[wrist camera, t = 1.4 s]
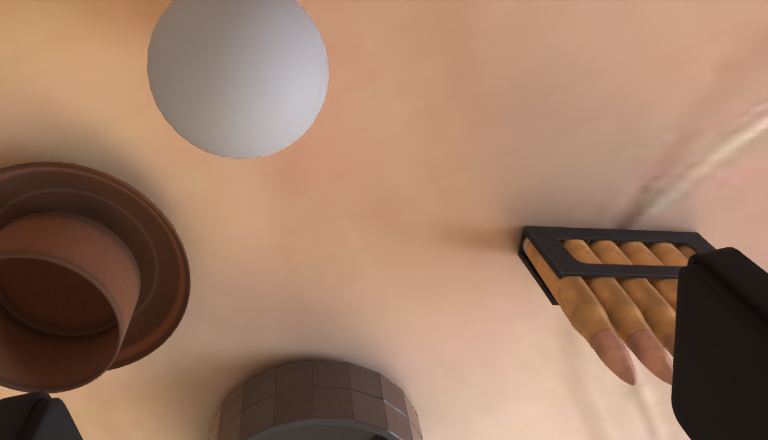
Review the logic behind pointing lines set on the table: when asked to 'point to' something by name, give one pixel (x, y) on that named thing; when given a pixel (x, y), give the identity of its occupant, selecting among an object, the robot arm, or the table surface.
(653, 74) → the table surface
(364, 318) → the table surface
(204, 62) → the lightbulb
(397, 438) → the bowl
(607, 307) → the ammunition clip
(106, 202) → the cup and saucer
